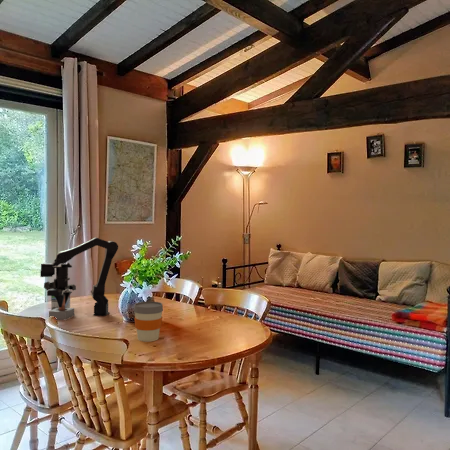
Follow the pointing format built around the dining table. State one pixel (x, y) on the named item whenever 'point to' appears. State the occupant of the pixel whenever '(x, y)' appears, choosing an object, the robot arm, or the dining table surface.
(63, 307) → the peg
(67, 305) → the light bulb box
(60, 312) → the hole block
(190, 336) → the dining table surface
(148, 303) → the reusable coffee cup
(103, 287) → the robot arm
